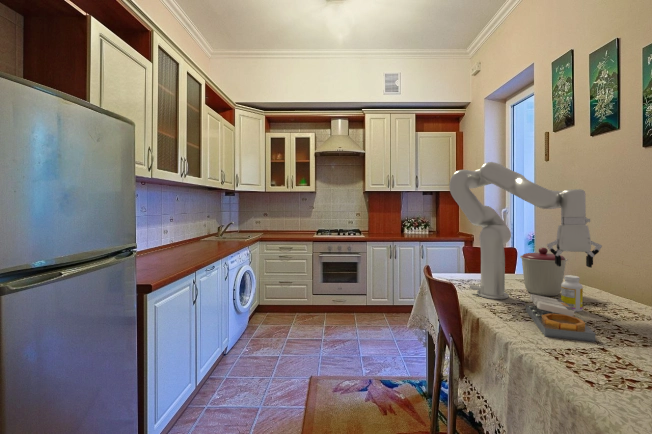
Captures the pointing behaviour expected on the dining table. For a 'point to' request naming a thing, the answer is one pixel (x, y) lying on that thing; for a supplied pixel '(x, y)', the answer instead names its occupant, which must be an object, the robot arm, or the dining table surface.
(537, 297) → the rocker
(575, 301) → the supplement bottle
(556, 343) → the dining table surface
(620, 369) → the dining table surface
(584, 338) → the panel
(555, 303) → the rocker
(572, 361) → the dining table surface
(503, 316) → the dining table surface
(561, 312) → the bar
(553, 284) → the canister
